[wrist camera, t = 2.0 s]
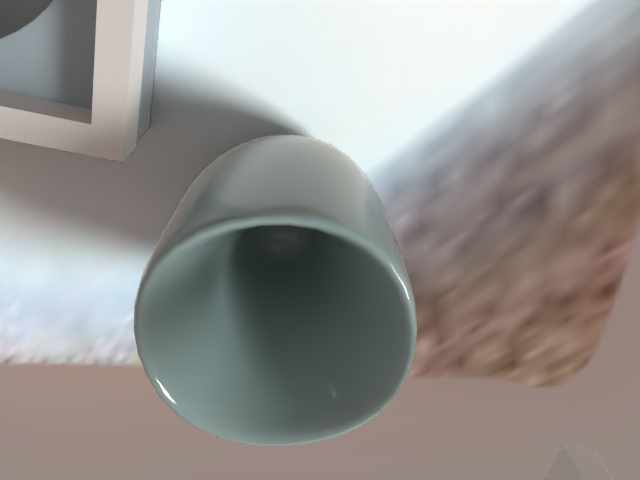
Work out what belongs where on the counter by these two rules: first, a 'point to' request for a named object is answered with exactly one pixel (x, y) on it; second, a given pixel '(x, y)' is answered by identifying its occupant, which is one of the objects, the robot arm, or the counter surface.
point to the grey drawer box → (78, 73)
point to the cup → (277, 297)
